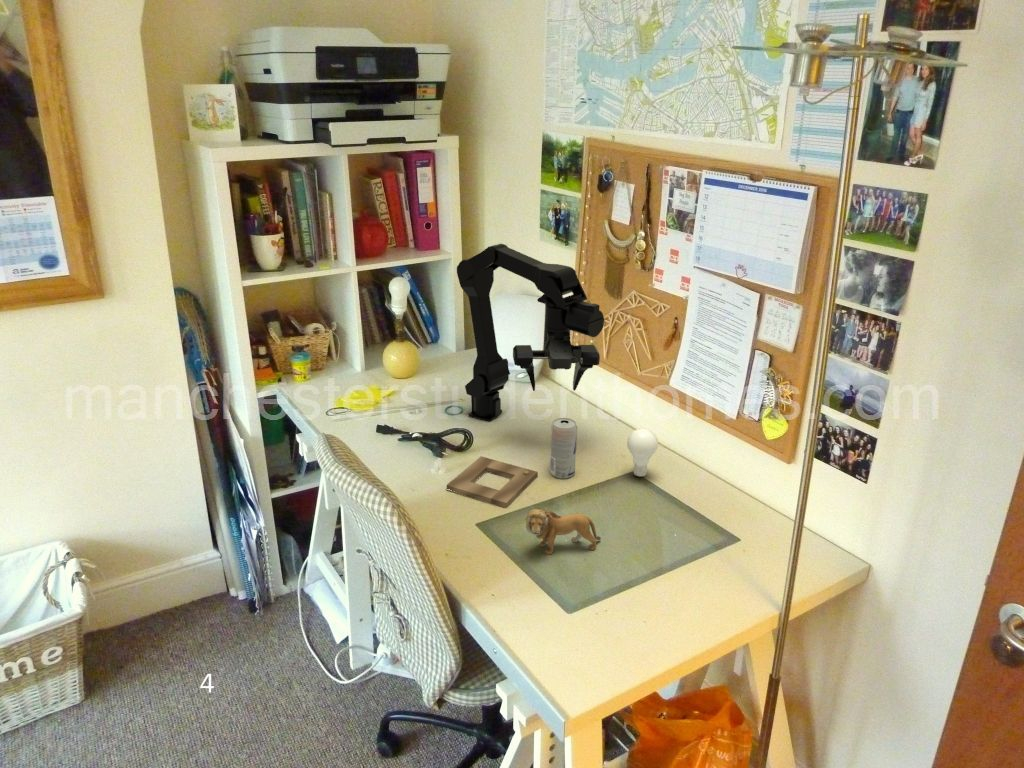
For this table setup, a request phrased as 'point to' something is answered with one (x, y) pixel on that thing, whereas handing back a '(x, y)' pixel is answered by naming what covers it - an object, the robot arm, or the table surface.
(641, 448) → the lightbulb
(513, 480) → the pocket plate
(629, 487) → the table surface
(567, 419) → the energy drink
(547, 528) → the lion figurine
